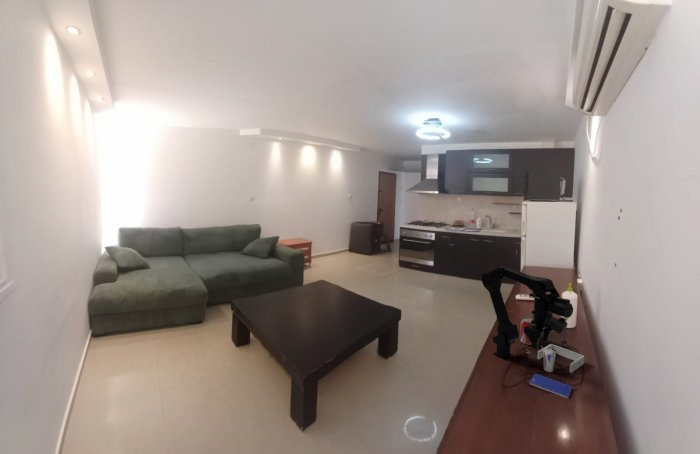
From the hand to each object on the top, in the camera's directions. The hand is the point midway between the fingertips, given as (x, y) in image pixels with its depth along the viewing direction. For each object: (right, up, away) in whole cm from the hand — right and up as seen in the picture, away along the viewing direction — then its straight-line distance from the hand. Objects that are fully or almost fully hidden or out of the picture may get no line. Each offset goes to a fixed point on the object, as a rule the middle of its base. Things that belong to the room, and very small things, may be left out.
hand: (540, 345), depth 126 cm
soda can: (+11, -10, +28) cm, 32 cm away
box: (+16, -11, +11) cm, 22 cm away
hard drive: (0, -14, -7) cm, 15 cm away
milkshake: (+6, -12, +4) cm, 14 cm away
